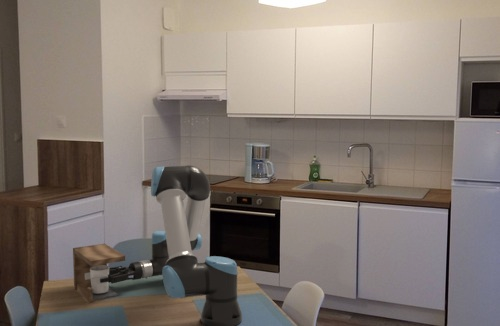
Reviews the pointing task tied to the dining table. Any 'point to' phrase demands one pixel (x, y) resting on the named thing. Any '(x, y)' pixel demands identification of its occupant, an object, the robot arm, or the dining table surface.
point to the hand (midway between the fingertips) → (88, 279)
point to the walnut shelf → (91, 265)
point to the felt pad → (103, 294)
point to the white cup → (98, 272)
